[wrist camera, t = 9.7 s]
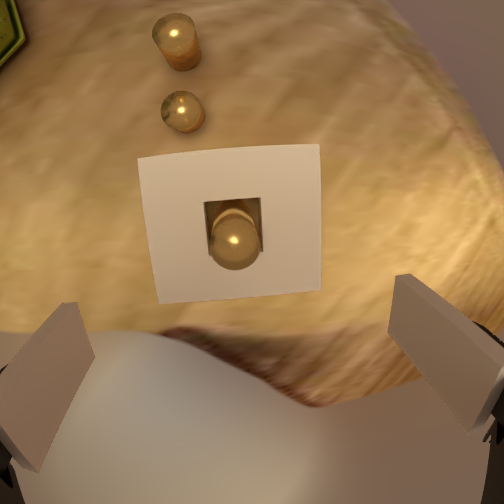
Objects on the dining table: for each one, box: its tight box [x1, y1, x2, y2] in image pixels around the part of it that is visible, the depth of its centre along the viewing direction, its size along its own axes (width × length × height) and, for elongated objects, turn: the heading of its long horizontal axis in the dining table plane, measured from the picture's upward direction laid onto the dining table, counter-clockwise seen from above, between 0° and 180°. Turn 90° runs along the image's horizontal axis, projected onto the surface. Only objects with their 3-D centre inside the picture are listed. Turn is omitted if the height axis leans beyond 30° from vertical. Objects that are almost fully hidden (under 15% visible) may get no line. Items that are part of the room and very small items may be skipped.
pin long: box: [209, 199, 261, 270], centre depth 28 cm, size 4×4×12 cm
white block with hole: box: [138, 144, 322, 304], centre depth 30 cm, size 16×14×6 cm
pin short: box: [161, 91, 205, 133], centre depth 27 cm, size 4×4×5 cm
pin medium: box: [152, 13, 201, 71], centre depth 24 cm, size 4×4×8 cm
